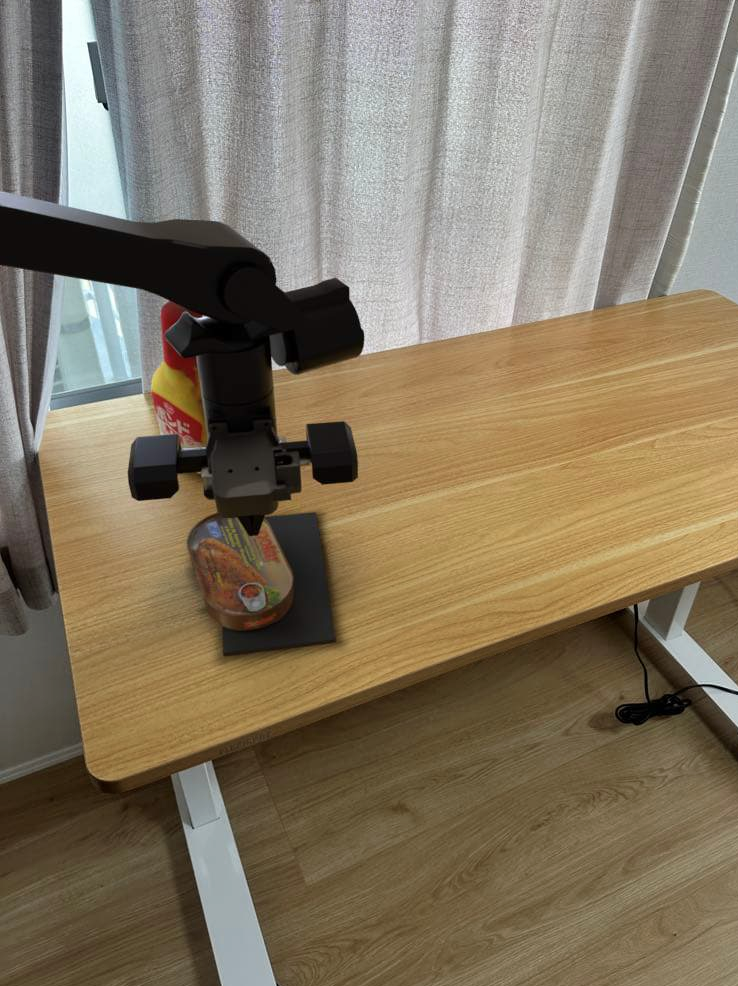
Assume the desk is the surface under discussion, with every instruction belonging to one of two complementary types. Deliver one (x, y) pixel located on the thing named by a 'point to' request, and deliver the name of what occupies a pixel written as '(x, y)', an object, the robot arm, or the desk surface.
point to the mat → (310, 599)
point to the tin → (240, 573)
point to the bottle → (178, 388)
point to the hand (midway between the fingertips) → (253, 533)
